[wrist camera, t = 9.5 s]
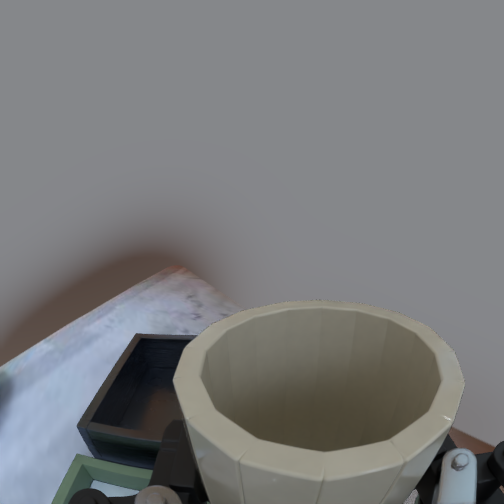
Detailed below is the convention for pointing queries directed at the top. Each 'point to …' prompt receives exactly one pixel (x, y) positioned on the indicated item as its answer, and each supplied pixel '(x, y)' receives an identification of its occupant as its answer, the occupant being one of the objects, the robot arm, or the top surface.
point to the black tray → (135, 402)
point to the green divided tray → (99, 477)
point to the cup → (316, 403)
